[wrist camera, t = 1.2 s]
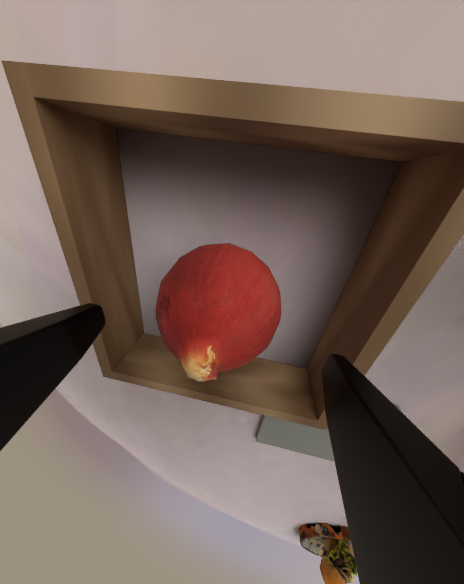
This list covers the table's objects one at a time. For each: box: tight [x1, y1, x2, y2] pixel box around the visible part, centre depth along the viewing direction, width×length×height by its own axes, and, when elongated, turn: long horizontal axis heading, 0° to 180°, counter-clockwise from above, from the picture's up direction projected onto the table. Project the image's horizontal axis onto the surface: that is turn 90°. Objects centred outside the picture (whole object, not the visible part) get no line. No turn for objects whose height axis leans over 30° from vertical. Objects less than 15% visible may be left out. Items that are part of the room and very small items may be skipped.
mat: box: [256, 406, 401, 461], centre depth 19 cm, size 10×10×1 cm
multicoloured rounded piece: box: [299, 523, 357, 584], centre depth 30 cm, size 12×12×8 cm
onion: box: [156, 243, 281, 382], centre depth 9 cm, size 6×6×8 cm
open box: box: [2, 61, 464, 430], centre depth 11 cm, size 16×16×4 cm
